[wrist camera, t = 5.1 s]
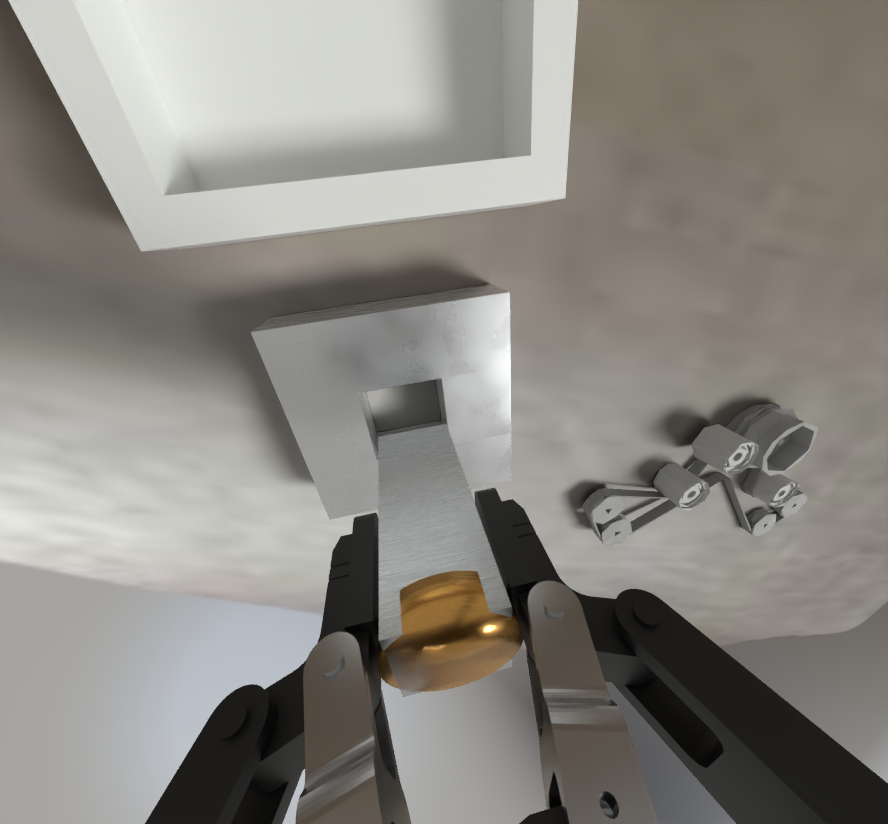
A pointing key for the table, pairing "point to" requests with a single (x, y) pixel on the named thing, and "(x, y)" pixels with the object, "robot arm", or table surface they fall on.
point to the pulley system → (731, 451)
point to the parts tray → (311, 109)
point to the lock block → (392, 383)
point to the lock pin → (436, 571)
